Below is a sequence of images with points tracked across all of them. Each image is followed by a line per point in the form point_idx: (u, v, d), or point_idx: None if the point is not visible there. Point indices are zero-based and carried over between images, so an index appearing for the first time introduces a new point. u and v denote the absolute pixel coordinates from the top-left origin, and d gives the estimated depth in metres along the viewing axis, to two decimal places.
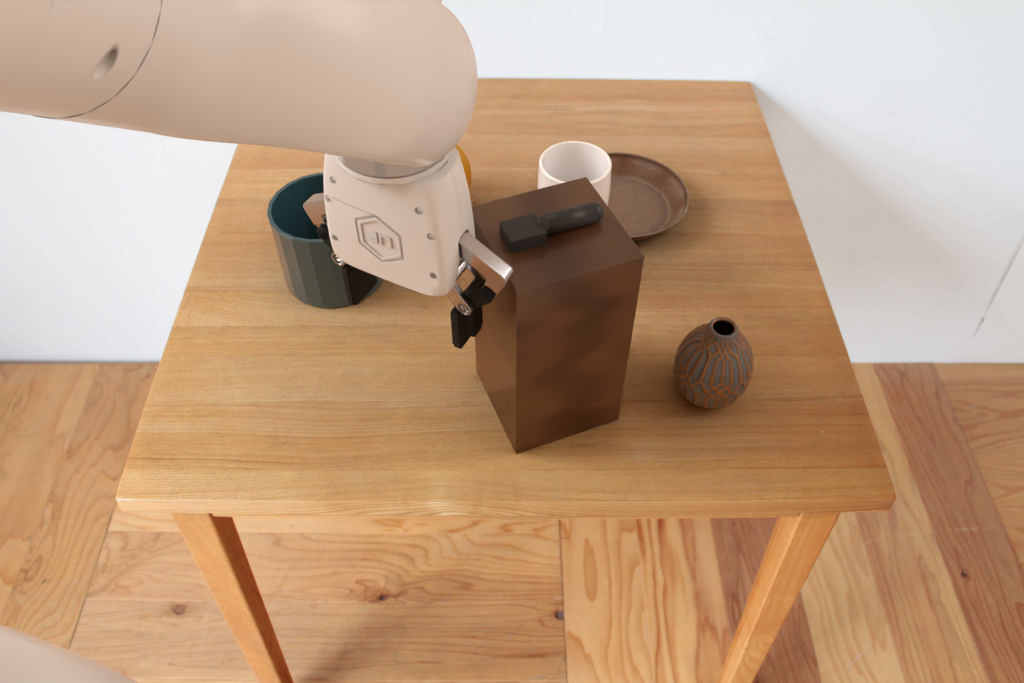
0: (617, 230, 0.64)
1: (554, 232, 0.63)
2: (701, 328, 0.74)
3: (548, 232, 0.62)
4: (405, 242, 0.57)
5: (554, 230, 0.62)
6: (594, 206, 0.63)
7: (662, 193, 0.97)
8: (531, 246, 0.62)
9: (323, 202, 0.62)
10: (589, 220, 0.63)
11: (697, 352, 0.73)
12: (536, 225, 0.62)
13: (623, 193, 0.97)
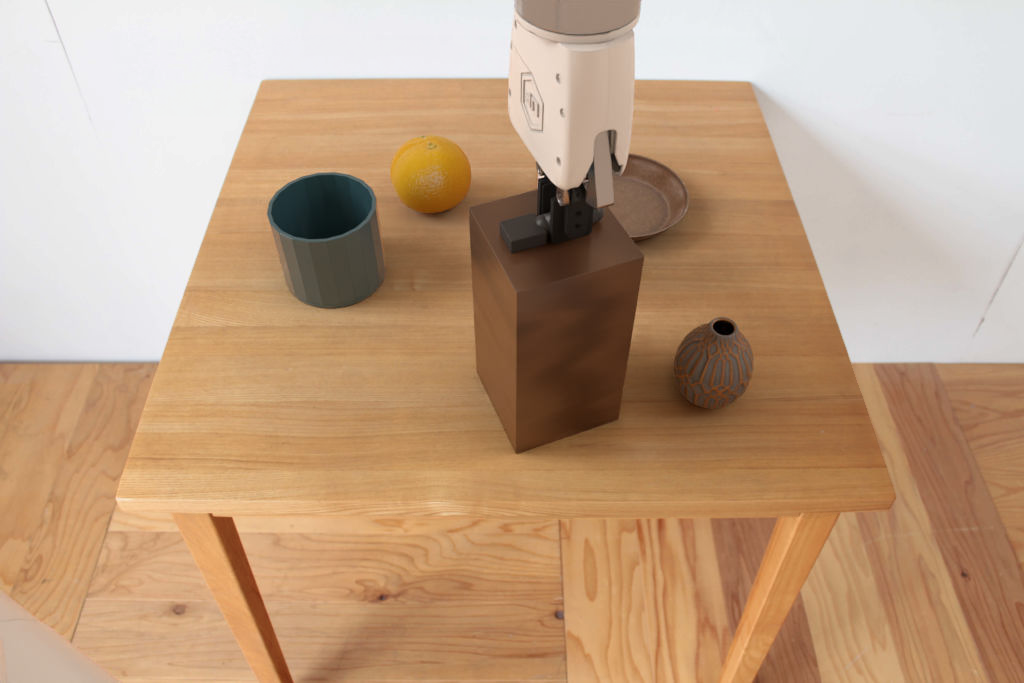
0: (617, 230, 0.64)
1: None
2: (701, 328, 0.74)
3: (548, 232, 0.62)
4: (545, 113, 0.53)
5: None
6: None
7: (662, 193, 0.97)
8: (531, 246, 0.62)
9: None
10: None
11: (697, 352, 0.73)
12: (536, 225, 0.62)
13: (623, 193, 0.97)
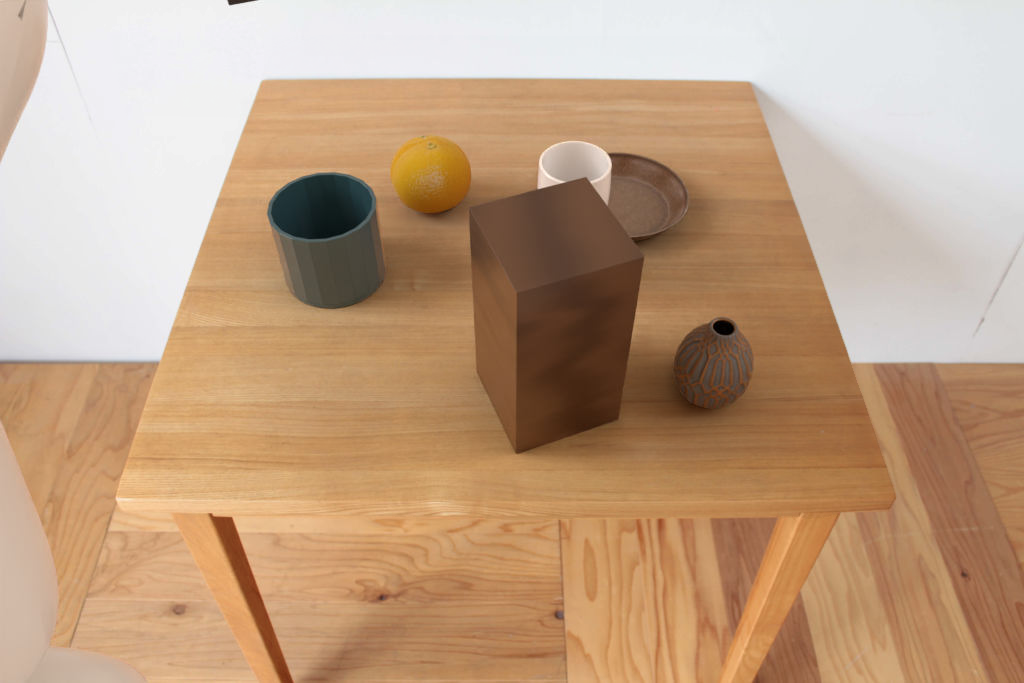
0: (617, 230, 0.64)
1: None
2: (701, 328, 0.74)
3: None
4: None
5: None
6: None
7: (662, 193, 0.97)
8: None
9: None
10: None
11: (697, 352, 0.73)
12: None
13: (623, 193, 0.97)
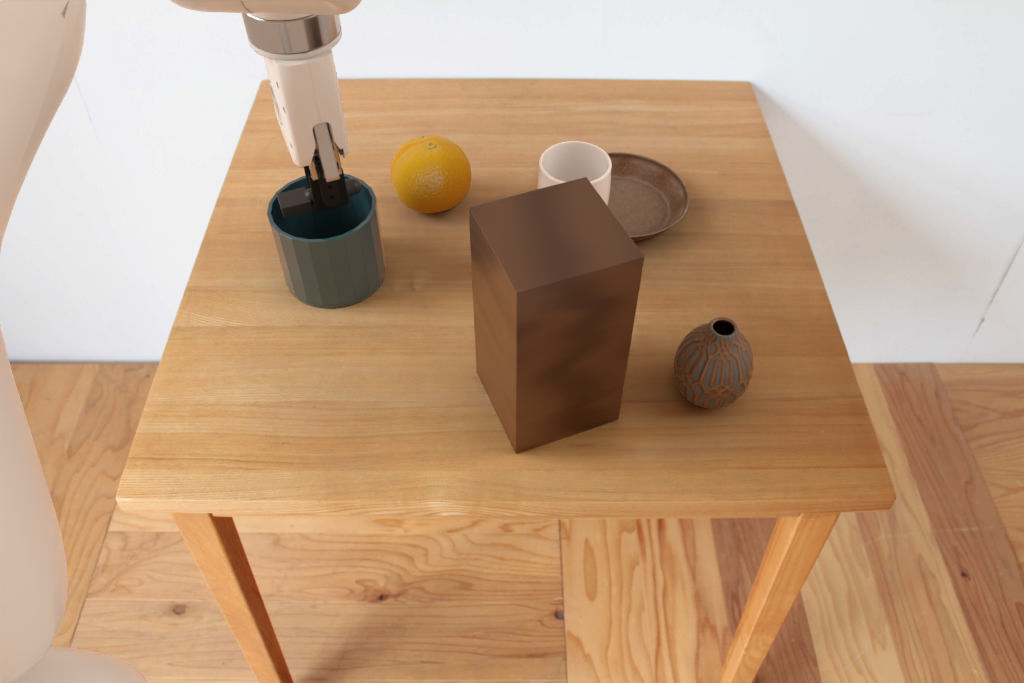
0: (617, 230, 0.64)
1: None
2: (701, 328, 0.74)
3: (313, 201, 0.81)
4: (279, 110, 0.71)
5: None
6: (351, 182, 0.82)
7: (662, 193, 0.97)
8: (300, 212, 0.81)
9: None
10: (347, 192, 0.82)
11: (697, 352, 0.73)
12: (304, 196, 0.81)
13: (623, 193, 0.97)
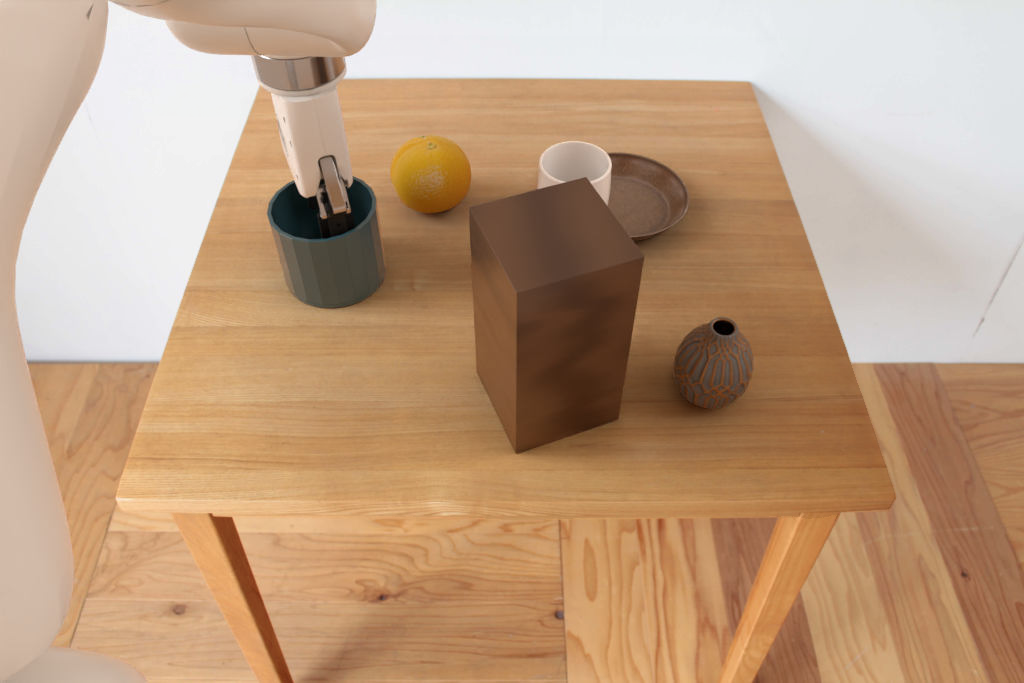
0: (617, 230, 0.64)
1: None
2: (701, 328, 0.74)
3: None
4: (286, 143, 0.74)
5: None
6: None
7: (662, 193, 0.97)
8: None
9: None
10: None
11: (697, 352, 0.73)
12: None
13: (623, 193, 0.97)
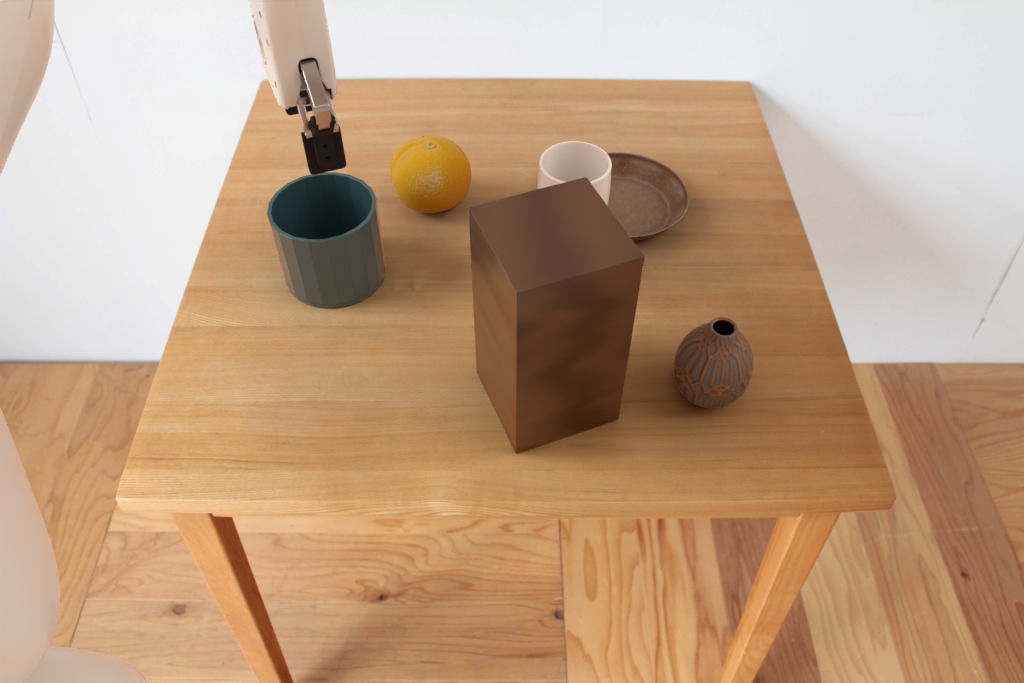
0: (617, 230, 0.64)
1: None
2: (701, 328, 0.74)
3: None
4: (263, 45, 0.67)
5: None
6: None
7: (662, 193, 0.97)
8: None
9: None
10: None
11: (697, 352, 0.73)
12: None
13: (623, 193, 0.97)
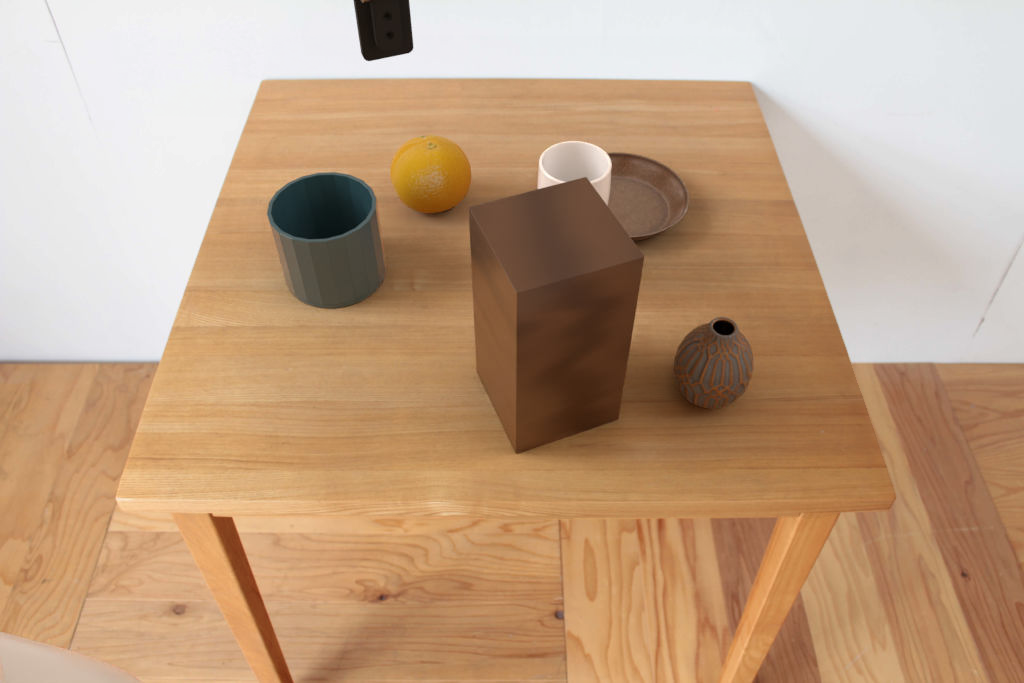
0: (617, 230, 0.64)
1: None
2: (701, 328, 0.74)
3: None
4: None
5: None
6: None
7: (662, 193, 0.97)
8: None
9: None
10: None
11: (697, 352, 0.73)
12: None
13: (623, 193, 0.97)
